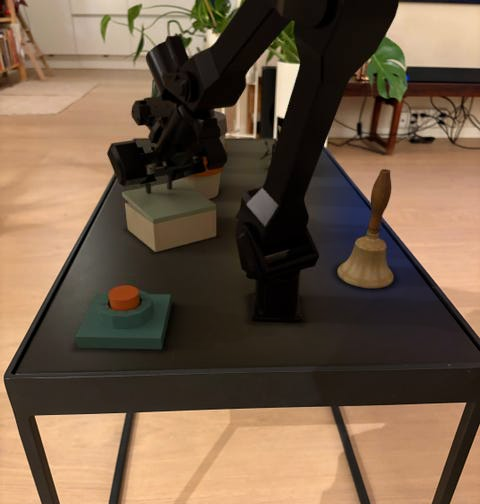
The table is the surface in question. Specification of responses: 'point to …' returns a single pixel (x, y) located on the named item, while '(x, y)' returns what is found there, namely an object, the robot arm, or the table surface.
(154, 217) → the lid
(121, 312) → the control box
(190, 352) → the table surface
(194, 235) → the shallow tan tray
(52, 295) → the table surface
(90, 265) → the table surface
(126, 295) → the button
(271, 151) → the passion flower
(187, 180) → the reusable coffee cup
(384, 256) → the hand bell
